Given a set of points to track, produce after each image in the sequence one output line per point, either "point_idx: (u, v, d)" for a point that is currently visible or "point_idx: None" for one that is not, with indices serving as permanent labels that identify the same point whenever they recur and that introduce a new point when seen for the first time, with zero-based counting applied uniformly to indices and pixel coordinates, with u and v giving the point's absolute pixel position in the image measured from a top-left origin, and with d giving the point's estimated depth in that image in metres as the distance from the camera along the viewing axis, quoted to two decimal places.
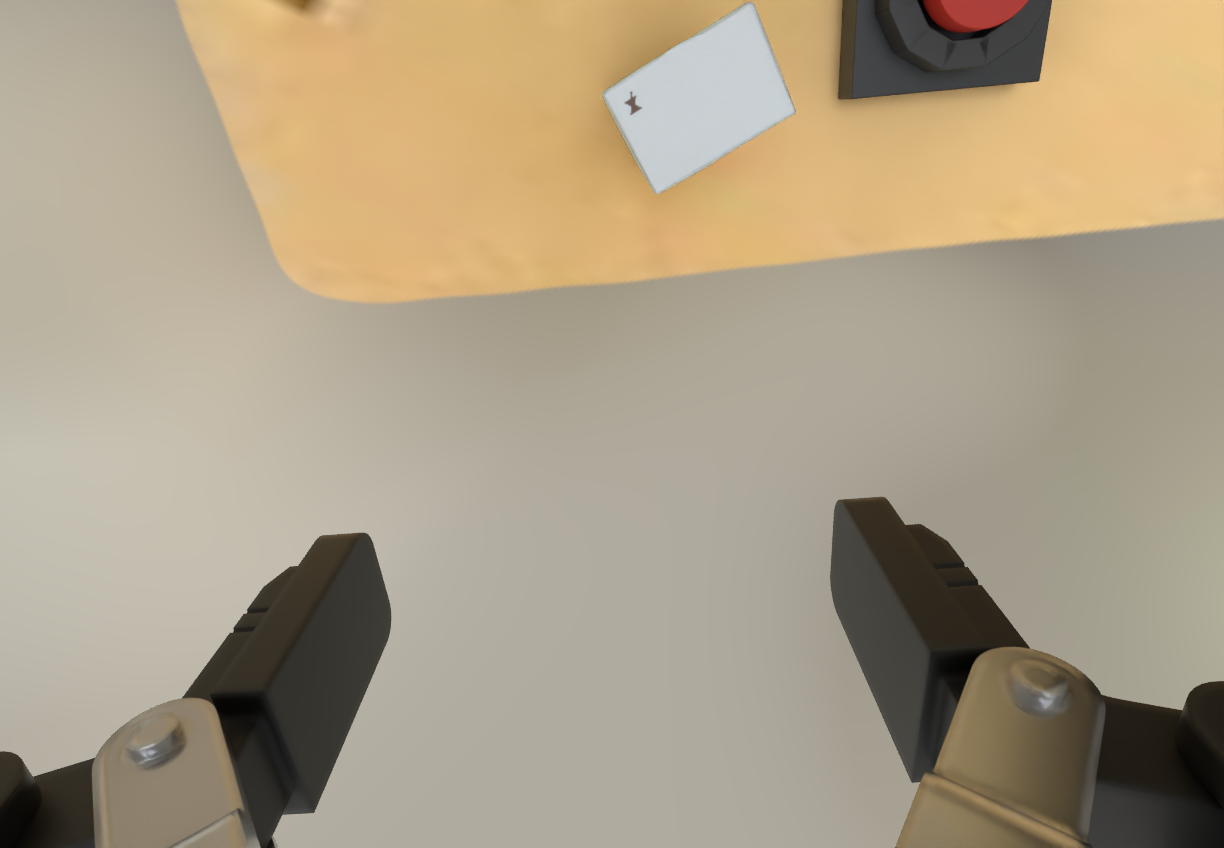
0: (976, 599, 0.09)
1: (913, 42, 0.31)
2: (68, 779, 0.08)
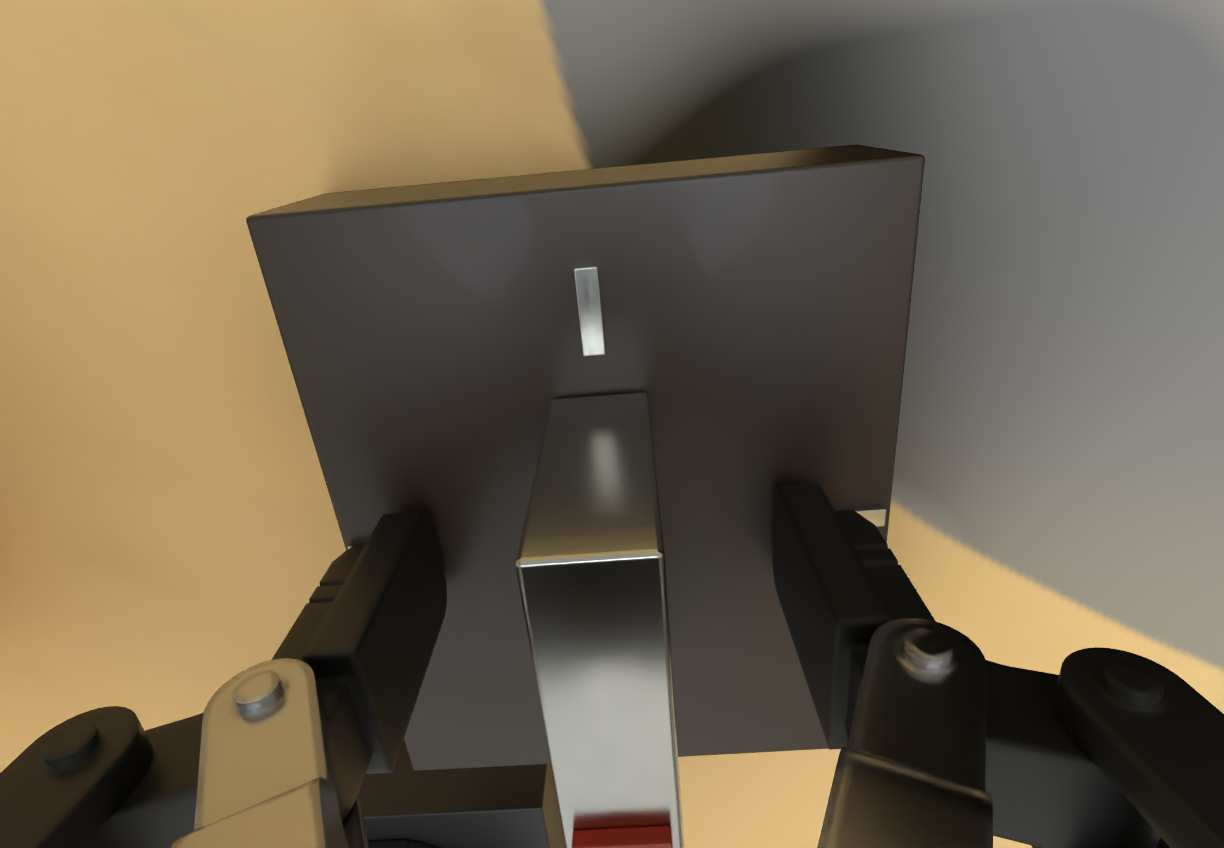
0: (893, 577, 0.10)
1: None
2: (172, 734, 0.08)
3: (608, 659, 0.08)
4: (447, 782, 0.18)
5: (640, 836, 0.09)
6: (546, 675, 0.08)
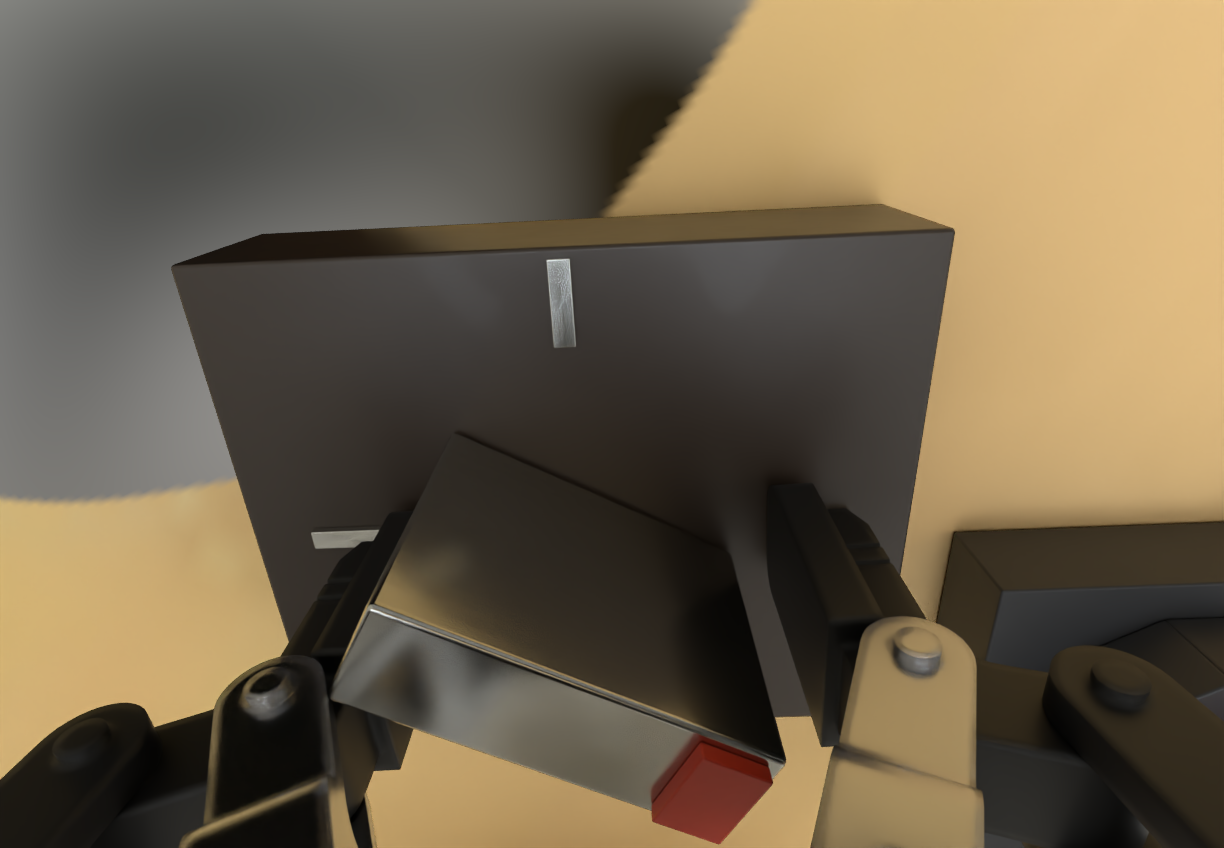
0: (885, 576, 0.10)
1: None
2: (182, 730, 0.08)
3: (462, 692, 0.08)
4: None
5: (686, 771, 0.08)
6: (455, 735, 0.08)
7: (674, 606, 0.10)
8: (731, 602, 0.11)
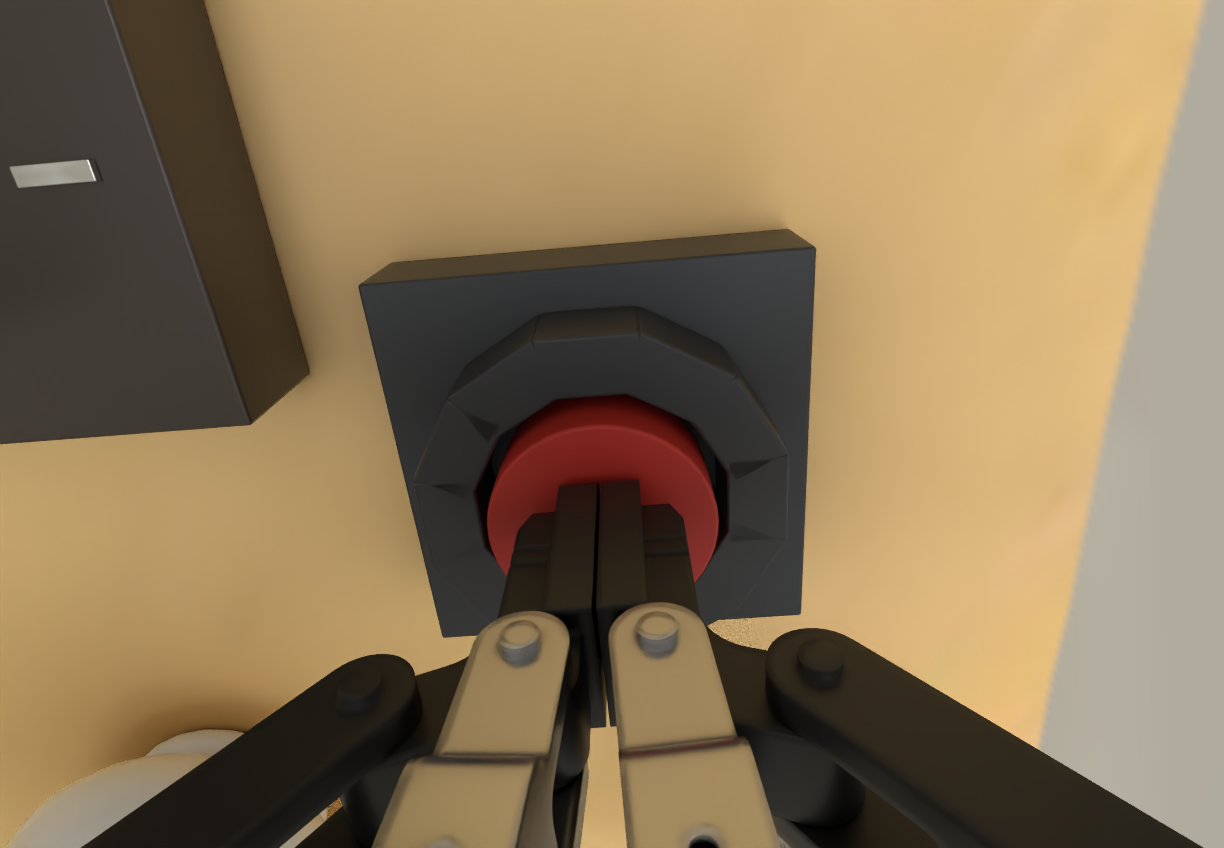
0: (678, 566, 0.10)
1: (726, 602, 0.14)
2: (430, 683, 0.09)
3: None
4: None
5: None
6: None
7: None
8: None
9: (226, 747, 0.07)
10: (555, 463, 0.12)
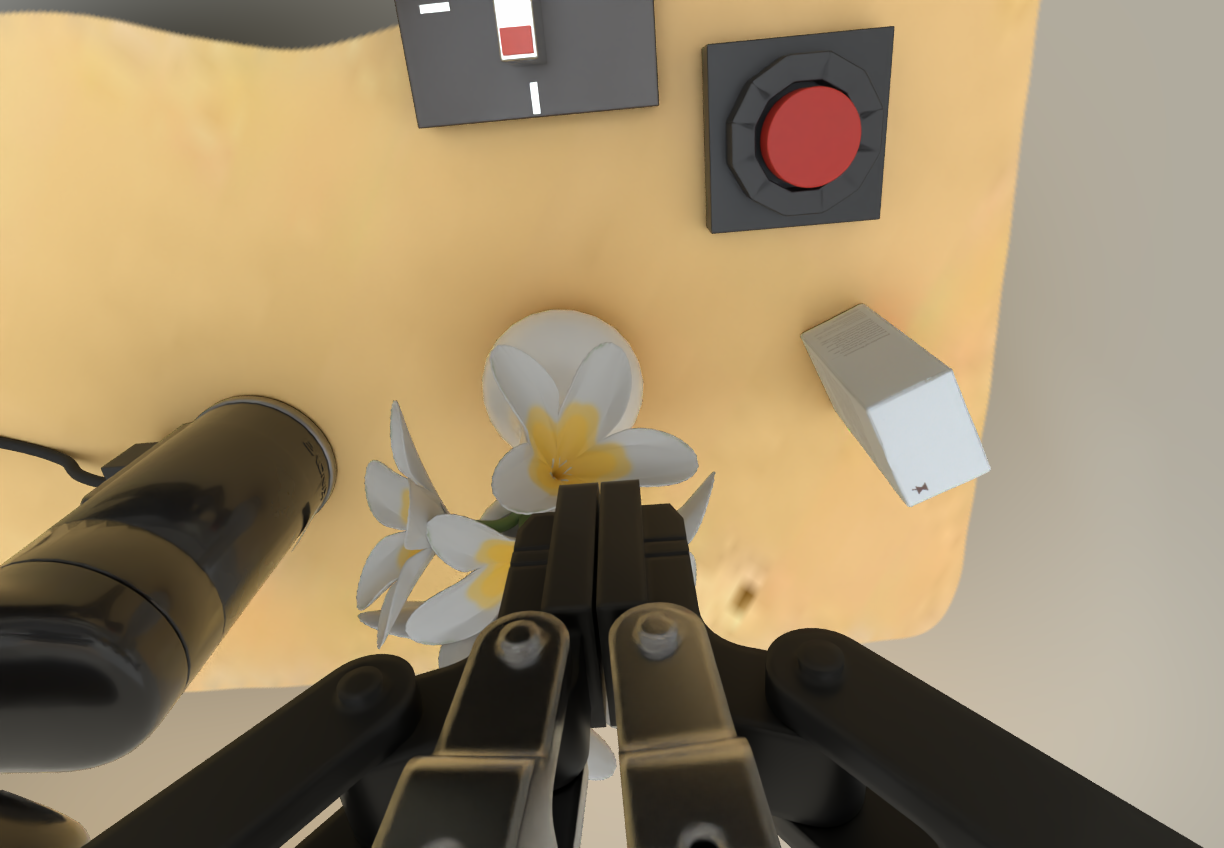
0: (678, 566, 0.10)
1: (853, 185, 0.34)
2: (430, 683, 0.09)
3: None
4: (705, 102, 0.35)
5: (520, 26, 0.28)
6: None
7: (539, 24, 0.30)
8: (544, 54, 0.31)
9: (226, 747, 0.07)
10: (799, 104, 0.31)
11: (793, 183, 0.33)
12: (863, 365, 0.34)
